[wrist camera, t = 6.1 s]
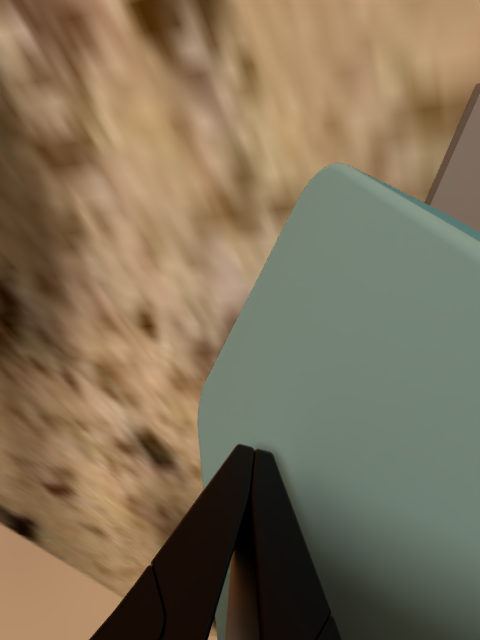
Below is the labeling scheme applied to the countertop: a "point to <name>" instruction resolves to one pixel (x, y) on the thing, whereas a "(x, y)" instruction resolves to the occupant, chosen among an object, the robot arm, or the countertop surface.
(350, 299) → the data package
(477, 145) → the mat
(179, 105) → the countertop surface
